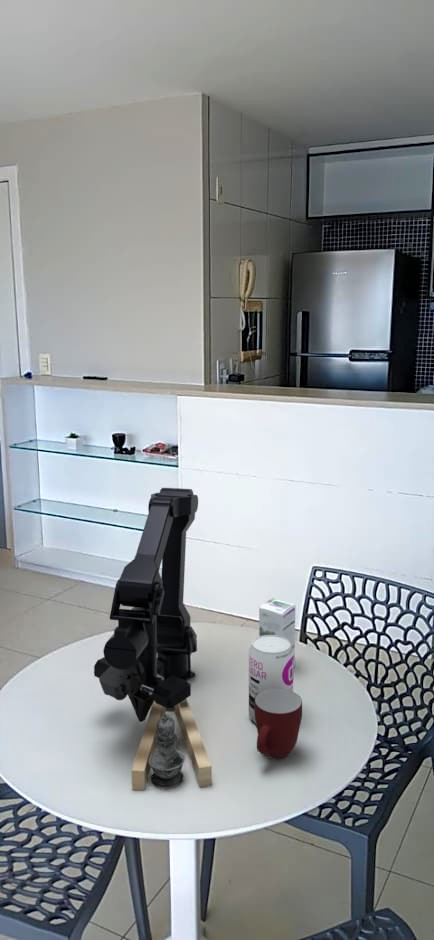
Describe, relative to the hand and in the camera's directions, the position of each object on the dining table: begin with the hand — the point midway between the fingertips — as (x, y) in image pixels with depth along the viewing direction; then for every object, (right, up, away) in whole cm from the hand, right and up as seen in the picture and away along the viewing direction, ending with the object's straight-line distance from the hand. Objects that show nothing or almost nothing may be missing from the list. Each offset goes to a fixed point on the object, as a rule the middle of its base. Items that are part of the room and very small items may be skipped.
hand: (141, 721), depth 133 cm
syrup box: (+26, +3, +22) cm, 34 cm away
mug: (+24, -4, -8) cm, 25 cm away
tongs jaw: (+2, -3, -5) cm, 6 cm away
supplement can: (+24, -1, +4) cm, 24 cm away
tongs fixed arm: (+8, -2, -4) cm, 9 cm away
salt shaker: (+6, -5, -13) cm, 15 cm away
